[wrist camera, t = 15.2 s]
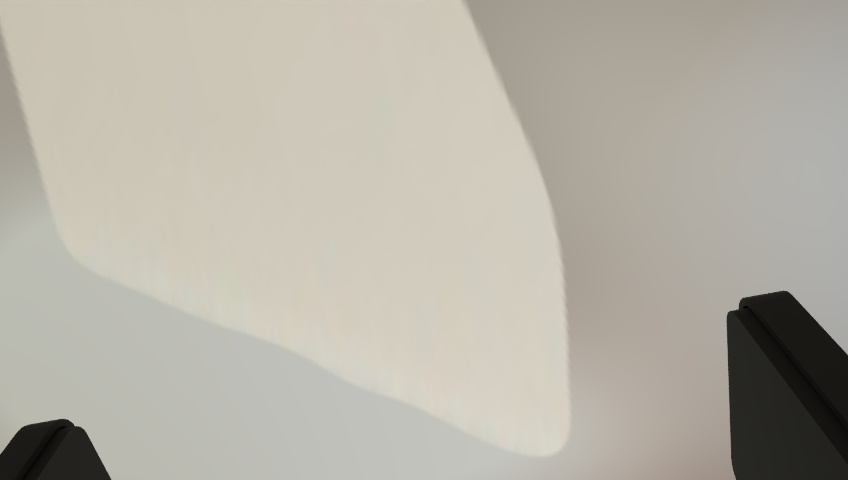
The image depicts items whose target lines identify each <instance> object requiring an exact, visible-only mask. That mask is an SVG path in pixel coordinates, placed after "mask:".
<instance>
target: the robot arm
mask: <svg viewBox="0 0 848 480" xmlns="http://www.w3.org/2000/svg"><path fill="white" fill-rule="evenodd" d="M727 343H728V371H729V401H730V402H729V403H730V432H731V459H732V466H733V471H734V474H735V477H736V480H848V355H847V354H846V353H845V352H844V350H842V348H841V347H840V346H839V345H838V344H837V343H836V342H835V341H834V340H833V339H832V338H831V336H830V335H829V334H828V333H827V332H826V331H825V330H824V329H823V328H822V327H821V326H820V325H819V324H818V322H817V321H816V320H815V319H814V318H813V317H812V316H811V315H810V314H809V313H808V312H807V311H806V310H805V309H804V308H803V306H802V305H801V304H800V303H799V302H798V301H797V300H796V299H795V298H794V297H793V296H792V295H791V294H790V293H789V292H788V291H779V292H774V293H768V294H763V295H757V296H752V297H746V298H742V299H741V300H740V303H739V310H734V311H730V312H728V315H727ZM0 480H111V478H110V476H109V475H108V473H107V471H106V469H105V467H104V465H103V463H102V461H101V459H100V458H99V456H98V454H97V452H96V450H95V448H94V446H93V444H92V442H91V441H90V439H89V437H88V435H87V433H86V432H85V430H84V429H82V428H81V427H77V426H74V424H73V423H72V422H70V421H69V420H66V419H58V420H53V421H48V422H42V423H36V424H30V425H27V426H24V427H22V428H21V429H20V430H19V431H18V432H17V433H16V435H15V436H14V437H13V438H12V440H11V441H10V443H9V444H8V445H7V447H6V448H5V449H4V450H3V452H2V453H1V454H0Z"/></svg>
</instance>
